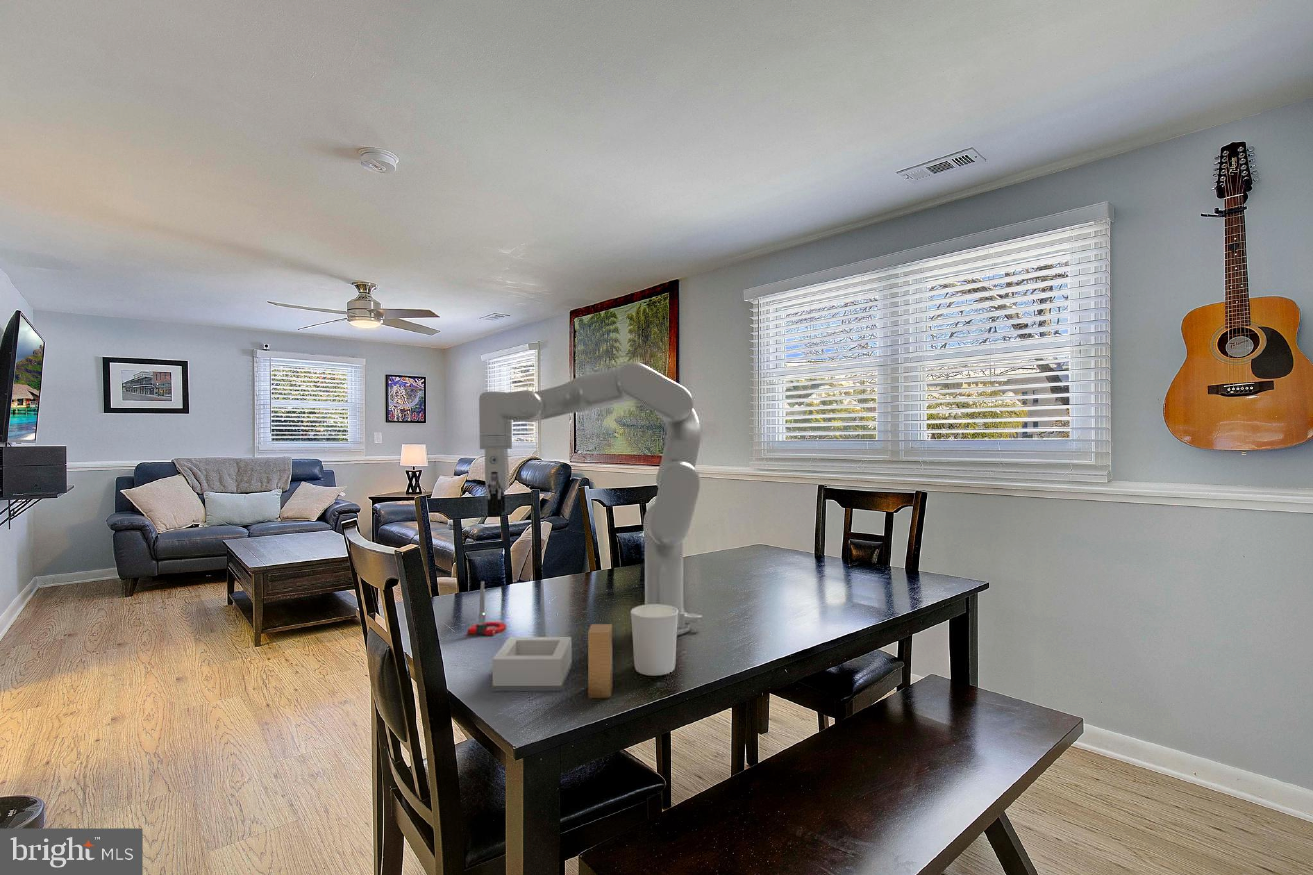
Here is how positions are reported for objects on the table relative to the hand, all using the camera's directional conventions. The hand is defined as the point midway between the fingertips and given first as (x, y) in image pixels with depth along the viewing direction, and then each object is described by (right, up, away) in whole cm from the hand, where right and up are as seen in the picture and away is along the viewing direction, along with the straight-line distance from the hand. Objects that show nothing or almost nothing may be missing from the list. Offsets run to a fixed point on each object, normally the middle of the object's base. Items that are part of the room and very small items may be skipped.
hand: (496, 514), depth 150 cm
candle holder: (+38, -30, -21) cm, 52 cm away
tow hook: (-4, -30, +6) cm, 31 cm away
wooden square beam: (+28, -29, -33) cm, 52 cm away
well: (+14, -29, -26) cm, 41 cm away
